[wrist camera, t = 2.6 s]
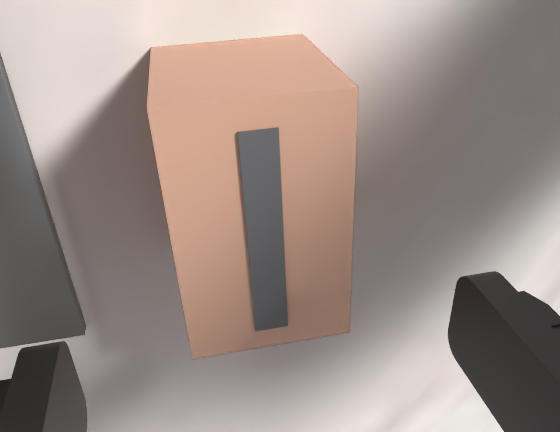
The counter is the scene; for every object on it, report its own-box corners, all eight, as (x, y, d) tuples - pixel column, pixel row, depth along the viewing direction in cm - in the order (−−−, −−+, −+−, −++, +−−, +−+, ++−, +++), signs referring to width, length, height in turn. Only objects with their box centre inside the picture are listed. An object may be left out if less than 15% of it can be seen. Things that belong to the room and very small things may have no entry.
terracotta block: (302, 33, 18) (359, 88, 13) (306, 232, 22) (350, 334, 17) (150, 46, 17) (146, 110, 12) (184, 249, 21) (192, 361, 16)
